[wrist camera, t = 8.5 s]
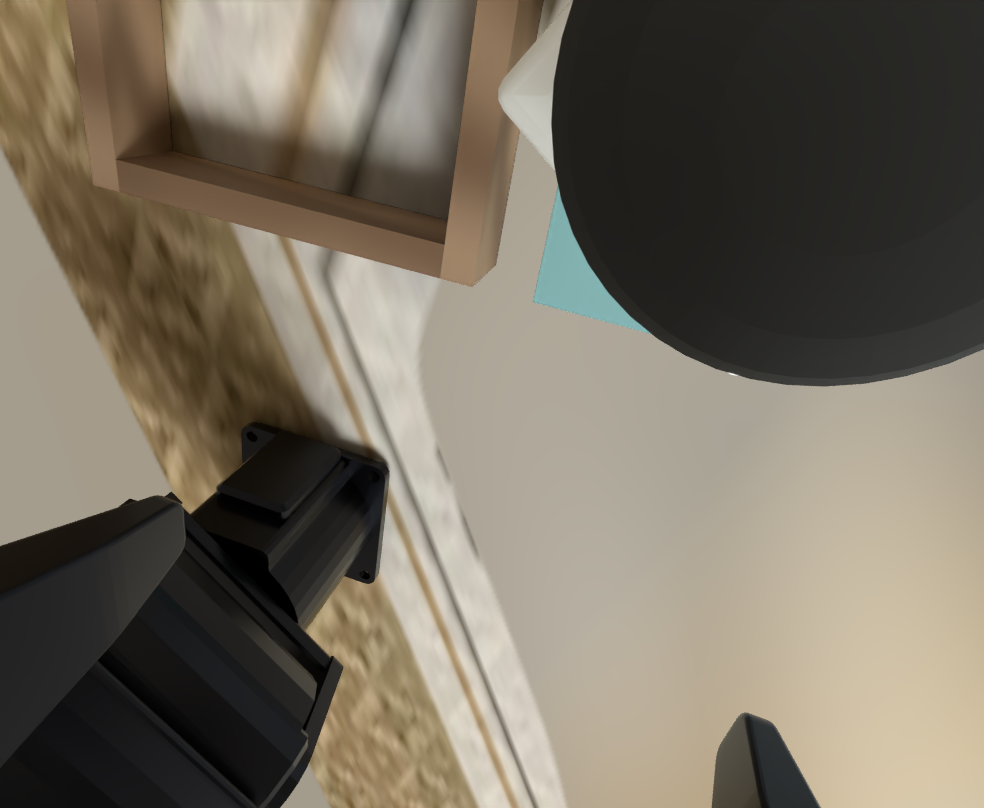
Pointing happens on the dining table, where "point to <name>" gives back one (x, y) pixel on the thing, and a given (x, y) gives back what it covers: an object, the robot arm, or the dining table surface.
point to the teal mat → (574, 277)
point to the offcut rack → (286, 204)
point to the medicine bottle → (773, 175)
